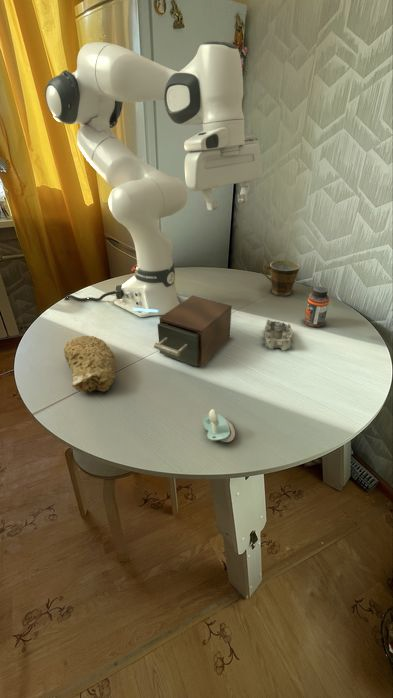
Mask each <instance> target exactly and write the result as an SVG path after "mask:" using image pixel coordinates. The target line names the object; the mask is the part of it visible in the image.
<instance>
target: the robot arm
mask: <svg viewBox="0 0 393 698" xmlns="http://www.w3.org/2000/svg"><path fill="white" fill-rule="evenodd" d="M44 92H45V94H44V97H45V102H46V106H47V109H48V110H49V113H50V114H51V115H52V117H53V118H54V119H55V120H56V121H57V122H59V123H62V124H66V125H73V124H79V128H78V131H77V133H76V143H77V146H78V148H79V150H80V151H81V153H82V155H83V156H84V158H85V159H86V161H87V162H88V163H89V164H90V166H91V167H92V168H93V169H94V170H95V171H96V172H97V174H98V175H100V177H102V179H103V180H104V181H105V182H106V183H107V184H108V185H109V186H110V187H111V188H113V189H112V190H111V191H110V193H109V197H108V207H109V211H110V213H111V215H112V217H113V218H114V219H115V220H116V221H117V222H118V223H119V224H121V225H123V227H125V228H126V229H127V231H128V233H129V234H130V236H131V238H132V240H133V244H134V249H135V255H136V264H135V265H134V266H132V267H130V269H131V272H133V271H134V274H133V275H132V277H130V278H129V279H127V280H126V281H125V282H124V283H123V284H120V285H115V290H113V291H109V292H108V291H107V292H105V293H103V294H101V295H100V296H99V297H91V296H89V297H77V296H75V295H73V294H68V295H66V296H65V297H64V300H69V299H73V300H74V301H78V302H88V301H93V302H100V301H102V300H103V299H104V298H105V297H108V296H112V295H115V300H114V305H115V306H117V307H120V309H121V308H122V309H123V310H126V311H127V312H130V313H131V314H132V315H133V314H134V315H135V316H138V317H139V318H146V317H147V318H148V317H151V316H163V315H164V314H166V313H167V312H169V311H170V310H172V309H173V308H175V307H176V306H178V305H179V304H180V303H181V302H180V300H179V298H178V294H177V289H176V284H175V280H176V279H175V277H176V271H175V270H176V269H175V263H174V259H173V243H172V240H171V237H170V236H169V235H167V234H166V233H164V232H162V231H161V229H160V226H159V220H160V219H162V218H165V217H169V216H172V215H175V214H176V213H178V212H180V211H181V210H183V208H185V206H186V204H187V200H188V192H187V189H188V190H189V191H191V192H199V191H200V194H201V197H202V198H203V199H204V201H205V202H206V209H207V210H208V211H213V210H217V208H218V207H217V200H214V199H213V198H212V195H211V194H213V189H214V188H220V187H225V186H230V185H236V184H239V187H241V189H240V193H239V194H237V195H236V196H237V203H238V204H244V203H247V201H248V193H249V190H250V188H251V186H252V185H251V181H255V180H260V179H261V178H262V176H263V171H264V170H263V160H262V151H261V148H260V140H259V139H258V138H257V137H256V136H255V134H249V135H245V116H244V112H243V98H244V76H243V66H242V59H241V53H240V50H239V48H238V47H237V46H236V44H234V43H232V42H227V41H217V40H216V41H214V40H211V41H210V40H209V41H205V42H203V43H201V44H200V45H199V46H198V49H197V52H196V54H195V55H194V57H193V58H192V59H191V60H190V62H189V63H188V64H187V65H186V66H185V67H183V68H182V69H180V70H177V69H172V68H170V67H167V66H165V65H163V64H161V63H158V62H156V61H154V60H151V59H149V58H147V57H145V56H143V55H141V54H139V53H137V52H135V51H133V50H131V49H129V48H126V47H124V46H121V45H119V44H114V43H111V42H104V41H94V42H93V41H91V42H87V43H85V44H84V45H83V46H82V47H81V48H80V49H79V51H78V54H77V59H76V70H75V71H73V72H69V70H66V69H65V70H63V71H62V72H60V74H58V75H55V76H54V77H52V78H50V79H49V81H48V82H47V84H46V86H45V90H44ZM153 101H164V108H165V111H166V113H167V115H168V117H169V118H170V120H171V121H172V122H173V123H174V124H177V125H182V126H192V125H193V126H194V125H195V126H196V125H197V126H198V125H202V130H201V131H199V132H198V133H196V134H195V135H193V136H191V137H189V138H187V139H186V140H184V143H183V146H184V151H185V152H187V154H185V158H184V179H185V183H184V182H183V181H182V179H180V178H179V177H177V176H173V175H170V174H167V173H165V172H163V171H161V170H159V169H158V168H156V167H154V166H152V165H151V164H149V163H147V162H145V161H144V160H142V159H140V157H138V156H137V155H136V154H135V153H134V152H132V151H131V149H130V148H129V147H128V146H127V145H125V143H124V142H123V141H122V140H121V139H120V138H119V137H118V136H116V135H115V134H114V132H113V131H112V128H114V127H115V126H116V125H117V124H118V121H119V118H120V116H121V113H122V110H123V105H124V103H143V102H153ZM186 187H187V188H186ZM67 297H68V298H67ZM87 298H89V299H87Z"/></svg>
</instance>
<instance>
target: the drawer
mask: <svg viewBox="0 0 393 698" xmlns="http://www.w3.org/2000/svg"><path fill="white" fill-rule="evenodd" d="M157 334H158V342H155V343H154V345H153V348H154V349H155V350H159V354H160V355H164V356H167V357H169V358H172V359H174V360H177V361H181V362H183V363H186V364H188V365H191V366H194V367H197V366H199V365H198V364H199V360H198V359H199V333H198V332H195V331H191V330H188V329H185V328H182V327H179V326H175V325H172V324H169V323H166V324H163V323H160V322H159V323H157Z"/></svg>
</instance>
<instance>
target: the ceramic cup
mask: <svg viewBox="0 0 393 698" xmlns="http://www.w3.org/2000/svg"><path fill="white" fill-rule="evenodd" d="M264 268H266V269H267V270H268V271H269V273H270V277H269V276H268V275H267V274H266V273H265V272H264V271H263V269H264ZM300 268H301V266H300V264H299V263H297V262H295V261H291V260H282V259H280V260H274V261H272V262H270V264H269V265H262V266H261V268H260V272H261V274H263V275H264V276H265V277H266V278H267V279H268V281H270V284H271V292H272V294H274V295H276V296H279V297H281V296H283V297H286V296H289V295H291V294H292V290H293V288H294V285H295V282H296V279H297V277H298V275H299V272H300Z"/></svg>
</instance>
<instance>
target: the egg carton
mask: <svg viewBox="0 0 393 698" xmlns="http://www.w3.org/2000/svg"><path fill="white" fill-rule="evenodd" d="M263 336H264V340H265V342H264V346H265V347H266V348H268V349H269V350H274V349H275V348H276V349H277V348H278V349H280V350H281V351H286V350H288V349H290V348H291V345H292V336H293V329H292V325H291V324H290V323H287V324H285V322H284V321H283V322H281V321H276V320H274V321H273V320H271V319H267V320H266V324H265V328H264V333H263Z"/></svg>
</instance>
